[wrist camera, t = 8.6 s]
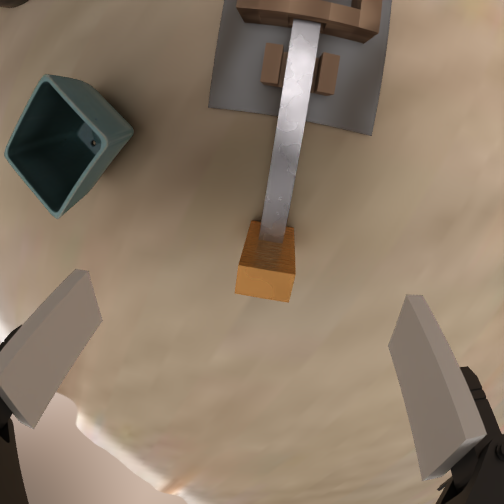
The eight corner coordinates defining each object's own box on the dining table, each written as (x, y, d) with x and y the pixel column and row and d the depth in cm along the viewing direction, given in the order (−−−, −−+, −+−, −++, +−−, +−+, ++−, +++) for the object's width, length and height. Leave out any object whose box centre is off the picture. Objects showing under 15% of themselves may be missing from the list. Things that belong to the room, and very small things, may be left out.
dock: (211, 107, 25) (192, 108, 20) (241, -67, 17) (231, -97, 12) (368, 134, 25) (387, 142, 20) (390, -41, 16) (410, -65, 11)
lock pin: (248, 243, 31) (234, 293, 23) (280, 28, 21) (278, -4, 14) (288, 250, 30) (288, 302, 23) (327, 36, 21) (345, 8, 13)
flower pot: (107, 190, 30) (56, 222, 22) (58, 136, 28) (1, 155, 20) (158, 129, 27) (110, 142, 19) (103, 73, 24) (44, 71, 16)
